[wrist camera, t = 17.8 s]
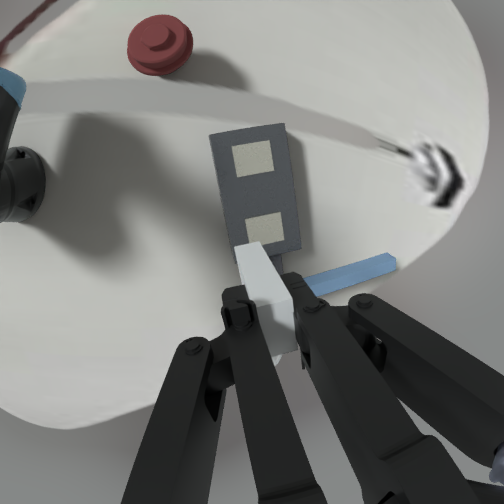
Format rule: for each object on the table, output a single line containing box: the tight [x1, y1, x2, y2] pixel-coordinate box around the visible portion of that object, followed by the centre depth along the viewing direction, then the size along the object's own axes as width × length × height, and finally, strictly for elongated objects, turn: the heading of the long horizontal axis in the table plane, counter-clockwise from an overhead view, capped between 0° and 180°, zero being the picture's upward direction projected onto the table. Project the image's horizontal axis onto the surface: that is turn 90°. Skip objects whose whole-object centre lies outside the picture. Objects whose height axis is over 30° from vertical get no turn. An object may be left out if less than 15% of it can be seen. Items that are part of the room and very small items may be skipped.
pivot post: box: [268, 254, 283, 275], centre depth 52 cm, size 6×6×9 cm
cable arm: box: [303, 253, 396, 297], centre depth 47 cm, size 24×4×3 cm, turn 102°
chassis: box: [209, 123, 301, 264], centre depth 47 cm, size 12×22×5 cm, turn 10°
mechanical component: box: [127, 15, 193, 76], centre depth 33 cm, size 12×10×10 cm
